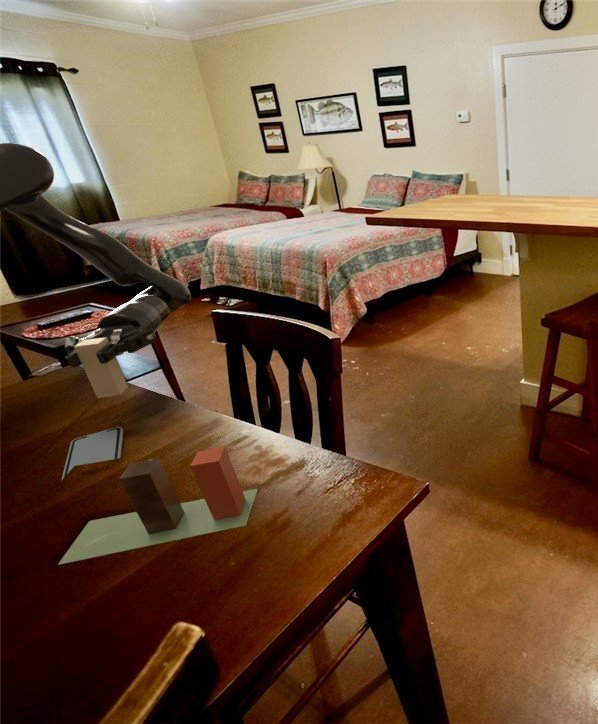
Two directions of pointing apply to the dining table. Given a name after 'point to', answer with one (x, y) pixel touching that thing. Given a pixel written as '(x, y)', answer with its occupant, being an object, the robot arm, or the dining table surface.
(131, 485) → the tall brown brick
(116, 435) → the smartphone
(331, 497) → the dining table surface
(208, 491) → the tall red brick
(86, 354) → the cream rectangular prism
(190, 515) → the pale green strip
